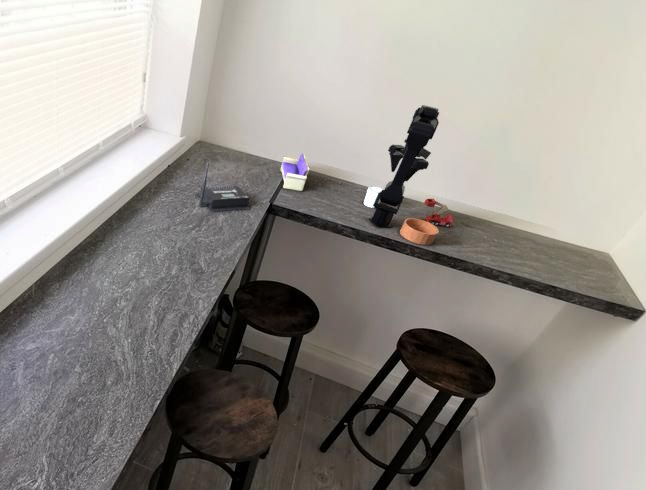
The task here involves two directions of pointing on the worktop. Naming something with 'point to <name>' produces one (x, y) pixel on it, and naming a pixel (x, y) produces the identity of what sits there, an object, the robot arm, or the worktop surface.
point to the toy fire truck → (435, 216)
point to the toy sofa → (294, 172)
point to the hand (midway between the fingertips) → (399, 176)
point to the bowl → (419, 231)
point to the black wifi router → (223, 197)
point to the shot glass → (372, 196)
